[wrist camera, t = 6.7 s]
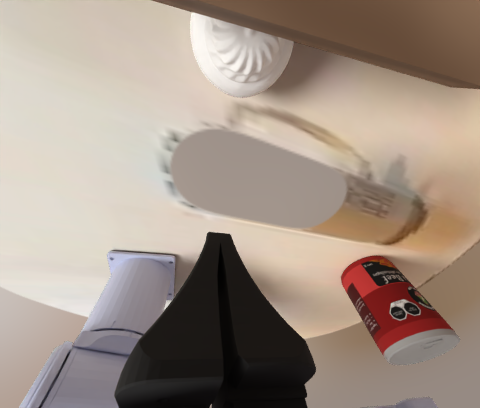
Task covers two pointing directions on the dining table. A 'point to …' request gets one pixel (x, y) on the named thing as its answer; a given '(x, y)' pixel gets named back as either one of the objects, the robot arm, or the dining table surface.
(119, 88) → the dining table surface
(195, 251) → the dining table surface
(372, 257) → the canned food
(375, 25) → the walnut shelf
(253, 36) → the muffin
